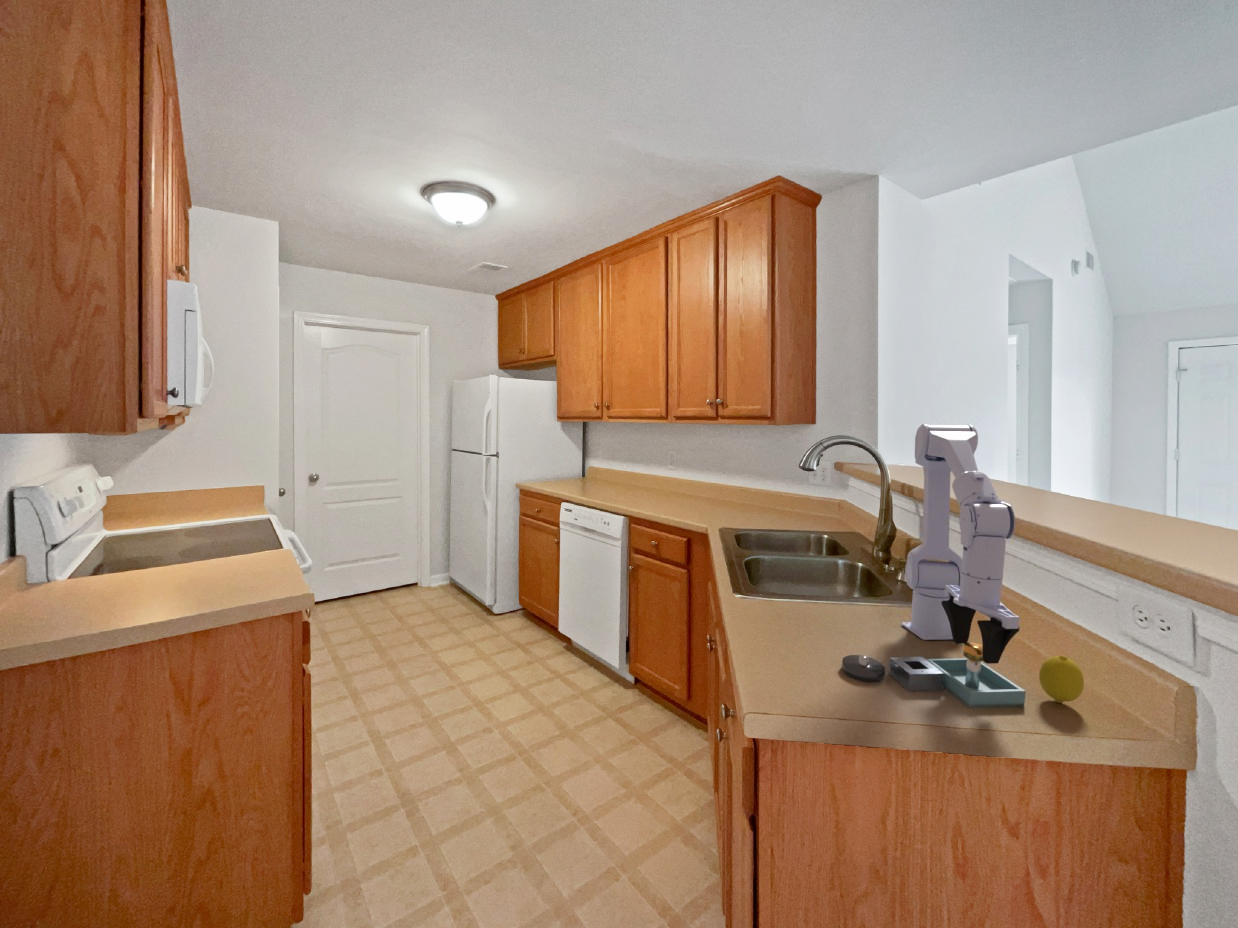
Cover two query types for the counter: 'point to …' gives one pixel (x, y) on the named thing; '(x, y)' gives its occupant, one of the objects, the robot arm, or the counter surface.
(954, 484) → the robot arm
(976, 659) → the lock pin
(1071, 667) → the lemon
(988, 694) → the tray
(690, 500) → the counter surface
